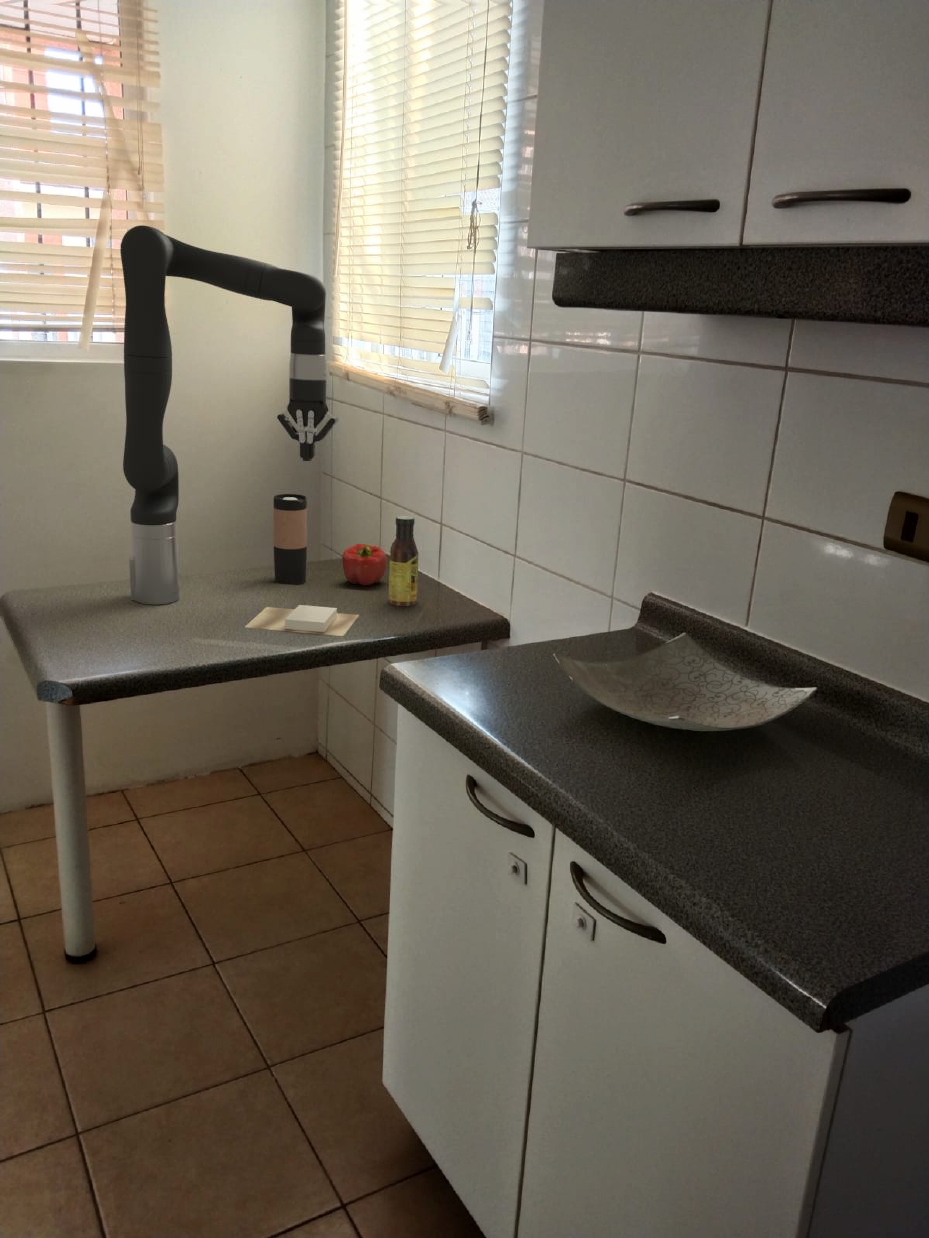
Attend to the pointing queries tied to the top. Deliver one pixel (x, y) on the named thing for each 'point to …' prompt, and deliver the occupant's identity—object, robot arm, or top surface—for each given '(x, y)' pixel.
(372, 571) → the vegetable
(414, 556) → the sauce bottle
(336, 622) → the board
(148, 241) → the robot arm
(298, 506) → the travel mug
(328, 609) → the tile
